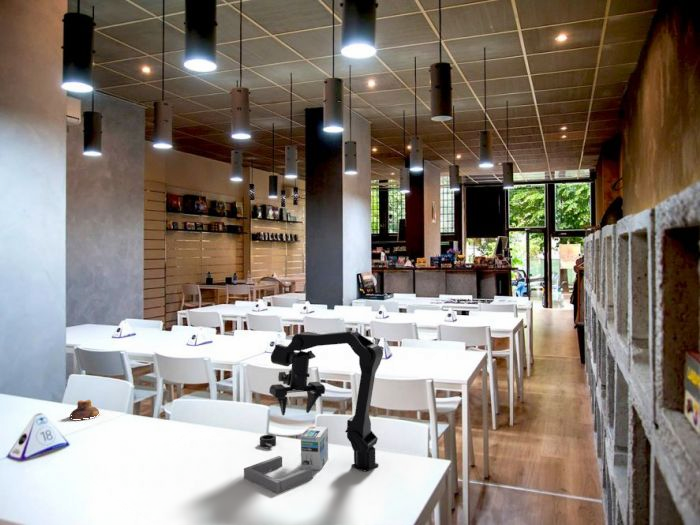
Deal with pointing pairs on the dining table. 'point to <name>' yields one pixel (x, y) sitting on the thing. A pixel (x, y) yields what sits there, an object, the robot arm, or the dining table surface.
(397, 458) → the dining table surface
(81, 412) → the brown fuzzy lump
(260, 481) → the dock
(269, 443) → the duct tape
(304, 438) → the light bulb box
